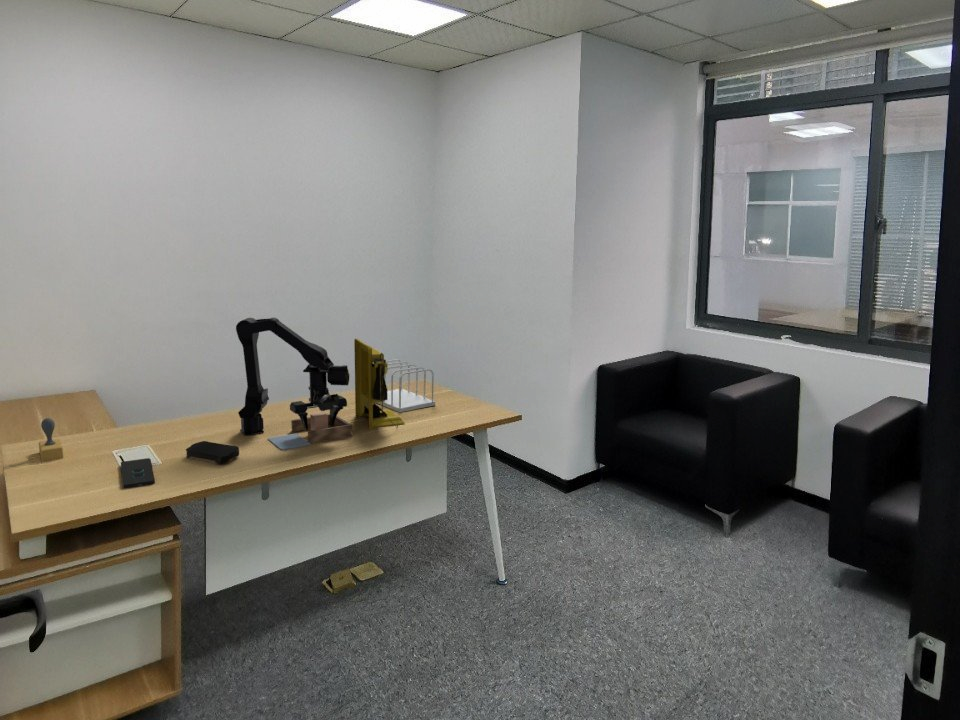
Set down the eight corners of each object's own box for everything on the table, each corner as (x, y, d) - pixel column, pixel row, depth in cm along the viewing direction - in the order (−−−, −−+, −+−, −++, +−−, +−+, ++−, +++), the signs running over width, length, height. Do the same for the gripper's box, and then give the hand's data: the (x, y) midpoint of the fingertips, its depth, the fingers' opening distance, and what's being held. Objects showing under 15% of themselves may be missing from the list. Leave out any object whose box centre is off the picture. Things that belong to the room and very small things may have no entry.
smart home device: (122, 484, 190) (120, 461, 207) (122, 490, 190) (120, 466, 207) (155, 479, 193) (150, 457, 211) (155, 485, 194) (151, 462, 211)
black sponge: (243, 458, 216) (242, 447, 215) (223, 467, 208) (223, 455, 208) (202, 450, 222) (201, 440, 221) (182, 459, 214) (181, 447, 214)
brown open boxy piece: (309, 443, 230) (308, 432, 229) (291, 431, 243) (291, 420, 242) (352, 436, 239) (351, 424, 238) (333, 424, 252) (332, 413, 251)
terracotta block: (316, 436, 237) (315, 417, 236) (310, 433, 241) (310, 414, 239) (328, 434, 240) (327, 415, 238) (323, 431, 243) (322, 412, 242)
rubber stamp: (39, 452, 216) (35, 415, 214) (61, 449, 220) (57, 413, 217) (41, 462, 208) (37, 423, 206) (63, 458, 212) (59, 420, 209)
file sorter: (366, 399, 287) (365, 362, 284) (401, 393, 298) (401, 357, 295) (399, 413, 268) (399, 373, 265) (435, 406, 279) (436, 368, 276)
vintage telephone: (413, 431, 245) (413, 348, 239) (375, 436, 239) (374, 351, 233) (386, 408, 273) (386, 333, 267) (351, 412, 267) (350, 335, 261)
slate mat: (281, 450, 223) (281, 449, 223) (267, 439, 233) (267, 438, 233) (310, 444, 229) (310, 443, 229) (296, 434, 239) (296, 433, 239)
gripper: (300, 393, 225) (302, 439, 228) (353, 386, 236) (354, 430, 239) (288, 386, 234) (290, 430, 237) (339, 379, 244) (340, 421, 248)
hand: (319, 428), depth 240 cm, fingers open, 9 cm apart
